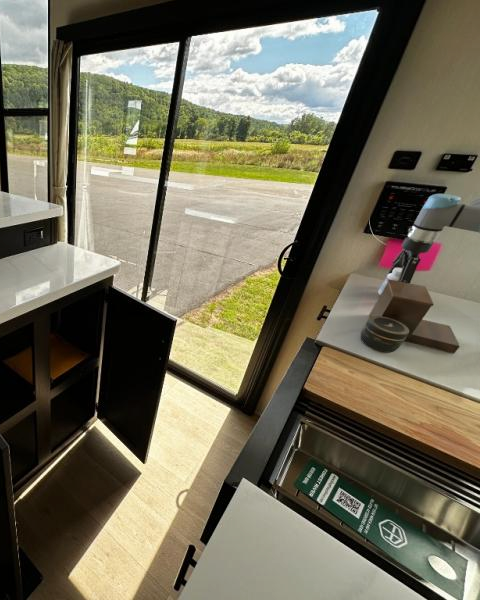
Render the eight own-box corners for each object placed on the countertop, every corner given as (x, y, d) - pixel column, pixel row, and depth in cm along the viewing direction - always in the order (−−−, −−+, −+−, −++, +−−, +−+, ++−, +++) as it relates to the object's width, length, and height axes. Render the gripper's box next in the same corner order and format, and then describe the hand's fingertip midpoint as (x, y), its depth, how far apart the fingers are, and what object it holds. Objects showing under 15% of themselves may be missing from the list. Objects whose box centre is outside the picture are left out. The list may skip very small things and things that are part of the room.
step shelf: (444, 332, 106) (472, 295, 98) (454, 353, 98) (486, 315, 90) (368, 314, 116) (388, 279, 108) (371, 332, 107) (393, 295, 99)
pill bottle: (390, 291, 128) (404, 266, 122) (401, 299, 123) (417, 274, 117) (373, 291, 129) (387, 266, 123) (384, 299, 124) (399, 273, 118)
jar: (400, 343, 102) (413, 325, 98) (393, 358, 97) (407, 339, 93) (362, 329, 109) (373, 311, 104) (354, 342, 103) (364, 324, 99)
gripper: (401, 226, 123) (375, 274, 135) (412, 249, 106) (381, 302, 118) (427, 230, 120) (398, 279, 131) (443, 254, 103) (408, 307, 114)
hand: (390, 290), depth 125 cm, fingers open, 13 cm apart
